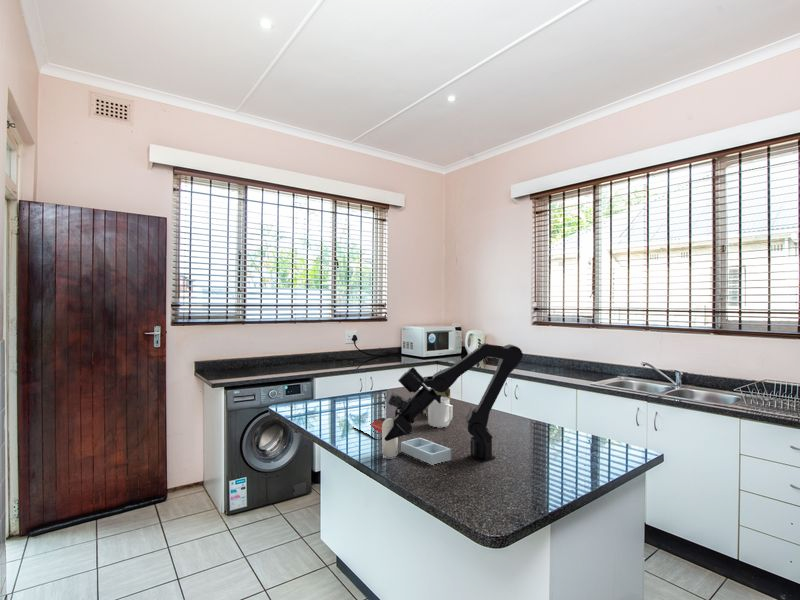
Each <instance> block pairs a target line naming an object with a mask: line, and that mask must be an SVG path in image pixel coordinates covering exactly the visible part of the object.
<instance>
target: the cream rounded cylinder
mask: <svg viewBox="0 0 800 600" xmlns="http://www.w3.org/2000/svg"><path fill="white" fill-rule="evenodd" d="M385 419H386V420H385V421H384V422H383V424H382V439H381V453H382V454H383V455H384V456H388V457H393V456H397V455H398V456H399V450H398V449H399V443H398V442H399V437H397V438H394V439H391V440H389V441H386V440H385V439H384V438H385V437H386V435H387V434H388V433H389V431H390V430H391V428H392V427H393V420H394V418H391V417H389V418H385ZM382 454H381V455H382Z"/></svg>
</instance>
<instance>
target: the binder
mask: <svg viewBox="0 0 800 600" xmlns="http://www.w3.org/2000/svg"><path fill="white" fill-rule="evenodd" d="M386 419H387V418H385V417H381V418H378V419H374V420H373V421H374V422H373V423H371V424H370V425H372V427H373V428H374V429H375V430H377V431H378V432H380V433H382V424H383V422H384V421H385V420H386ZM412 431H413V430H412ZM412 431H411V432H412ZM373 432H374V431H373ZM375 433H376V432H375ZM377 434H378V433H377Z"/></svg>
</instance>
